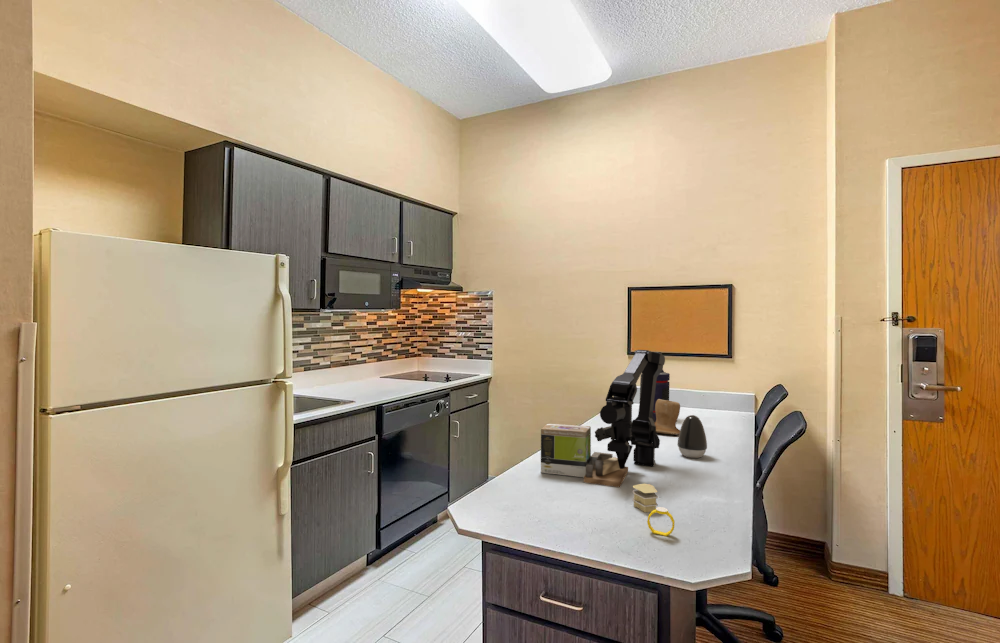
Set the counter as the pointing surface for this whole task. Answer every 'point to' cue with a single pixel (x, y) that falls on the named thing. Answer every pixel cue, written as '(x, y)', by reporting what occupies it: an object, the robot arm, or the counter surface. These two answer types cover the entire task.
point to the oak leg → (606, 466)
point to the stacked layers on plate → (645, 497)
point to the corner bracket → (599, 458)
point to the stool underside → (605, 477)
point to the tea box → (565, 449)
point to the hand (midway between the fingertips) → (621, 468)
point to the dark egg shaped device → (692, 438)
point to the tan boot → (666, 416)
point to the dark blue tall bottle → (659, 389)
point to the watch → (661, 511)
